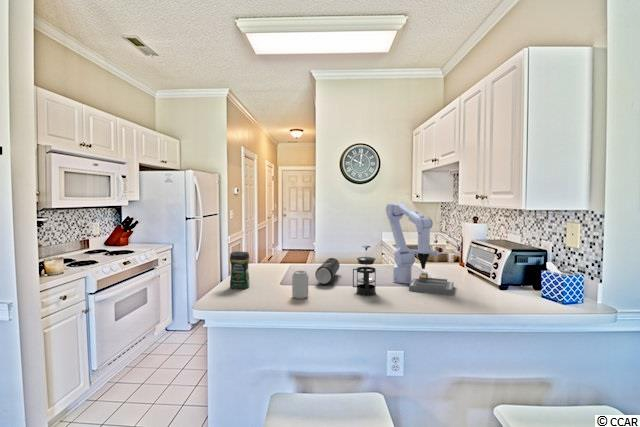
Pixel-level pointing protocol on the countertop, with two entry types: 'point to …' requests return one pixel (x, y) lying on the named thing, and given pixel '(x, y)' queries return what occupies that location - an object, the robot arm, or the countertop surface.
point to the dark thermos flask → (327, 271)
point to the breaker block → (432, 285)
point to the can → (300, 284)
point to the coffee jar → (239, 270)
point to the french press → (365, 276)
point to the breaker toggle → (422, 278)
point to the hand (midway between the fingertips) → (423, 268)
